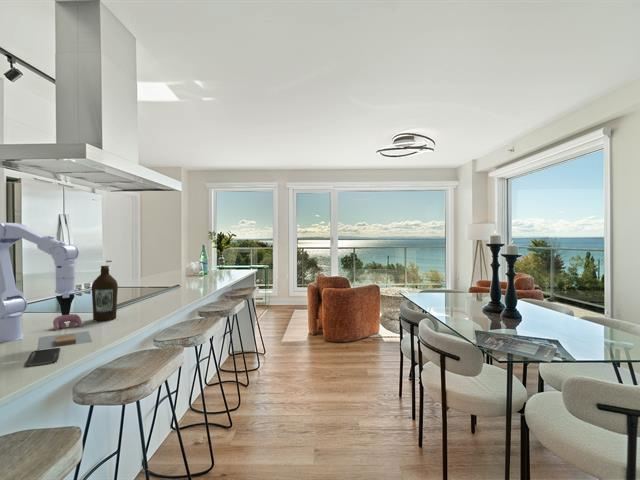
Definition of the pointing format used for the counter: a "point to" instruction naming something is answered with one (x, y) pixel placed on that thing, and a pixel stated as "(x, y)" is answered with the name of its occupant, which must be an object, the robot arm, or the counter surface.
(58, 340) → the walnut tile
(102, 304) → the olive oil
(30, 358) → the phone
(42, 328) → the counter surface
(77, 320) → the video game controller
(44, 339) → the rubber mat
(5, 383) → the counter surface
